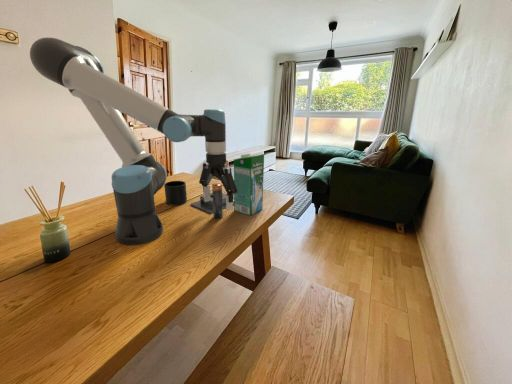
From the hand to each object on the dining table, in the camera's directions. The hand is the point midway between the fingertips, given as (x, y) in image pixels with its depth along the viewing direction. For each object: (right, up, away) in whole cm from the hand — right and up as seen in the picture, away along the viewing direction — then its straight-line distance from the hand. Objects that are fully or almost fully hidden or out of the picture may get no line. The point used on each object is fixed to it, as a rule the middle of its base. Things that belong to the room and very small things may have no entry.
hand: (217, 205), depth 99 cm
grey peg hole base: (-2, 0, +17) cm, 17 cm away
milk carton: (+12, -3, +10) cm, 16 cm away
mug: (-22, +1, +18) cm, 29 cm away
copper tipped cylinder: (0, -5, +2) cm, 5 cm away
